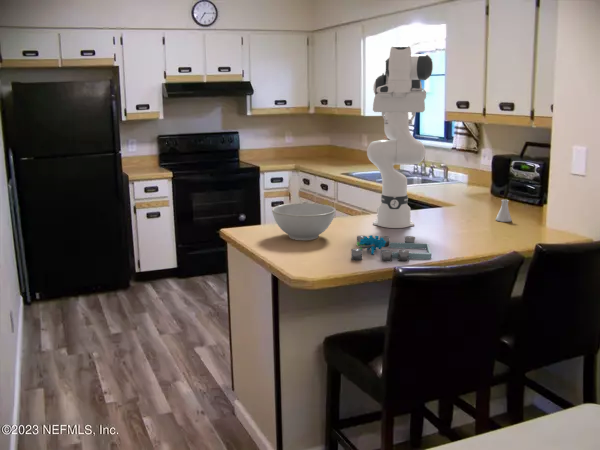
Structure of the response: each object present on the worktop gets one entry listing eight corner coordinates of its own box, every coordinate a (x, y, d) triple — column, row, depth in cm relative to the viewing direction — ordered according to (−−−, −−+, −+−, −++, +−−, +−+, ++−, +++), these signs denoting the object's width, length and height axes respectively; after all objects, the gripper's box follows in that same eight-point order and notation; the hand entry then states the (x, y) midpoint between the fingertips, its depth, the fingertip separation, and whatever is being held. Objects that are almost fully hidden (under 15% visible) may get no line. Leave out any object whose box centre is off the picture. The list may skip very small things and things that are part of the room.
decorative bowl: (327, 228, 277) (328, 202, 274) (341, 243, 251) (342, 214, 248) (268, 231, 272) (268, 204, 270) (276, 246, 247) (276, 216, 244)
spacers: (354, 242, 252) (354, 234, 251) (414, 244, 249) (414, 236, 248) (351, 260, 226) (351, 251, 226) (417, 262, 223) (417, 253, 222)
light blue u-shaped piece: (389, 247, 245) (389, 242, 245) (428, 248, 243) (428, 243, 243) (389, 257, 230) (389, 252, 230) (431, 259, 228) (431, 253, 228)
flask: (505, 218, 298) (506, 198, 295) (514, 221, 291) (516, 201, 289) (492, 219, 295) (493, 199, 293) (501, 222, 289) (503, 201, 287)
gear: (387, 246, 240) (383, 232, 232) (387, 259, 237) (383, 246, 229) (359, 248, 243) (354, 235, 235) (359, 261, 240) (354, 248, 232)
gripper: (425, 88, 242) (424, 123, 245) (373, 88, 245) (372, 123, 248) (427, 88, 236) (425, 124, 239) (373, 88, 239) (372, 124, 242)
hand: (398, 124), depth 243 cm, fingers open, 8 cm apart
